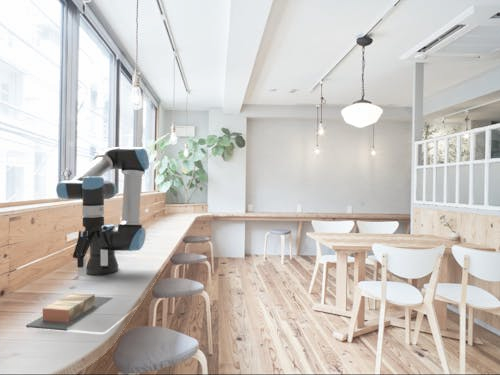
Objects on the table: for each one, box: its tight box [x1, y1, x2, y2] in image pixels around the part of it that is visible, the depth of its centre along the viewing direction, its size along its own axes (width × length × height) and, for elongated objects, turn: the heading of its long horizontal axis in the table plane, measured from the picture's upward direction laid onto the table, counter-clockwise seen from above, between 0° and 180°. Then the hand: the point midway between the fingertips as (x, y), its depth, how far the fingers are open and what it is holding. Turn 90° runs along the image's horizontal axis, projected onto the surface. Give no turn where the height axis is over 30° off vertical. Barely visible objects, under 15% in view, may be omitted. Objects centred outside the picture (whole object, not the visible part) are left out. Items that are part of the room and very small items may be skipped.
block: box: [42, 292, 96, 322], centre depth 110 cm, size 4×9×14 cm
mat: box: [25, 295, 113, 332], centre depth 112 cm, size 26×14×1 cm, turn 172°
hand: (93, 270), depth 123 cm, fingers open, 13 cm apart
